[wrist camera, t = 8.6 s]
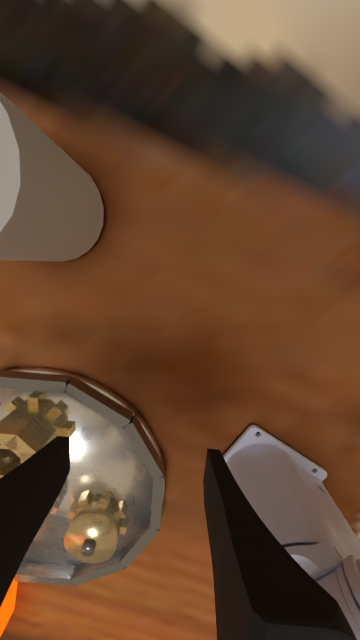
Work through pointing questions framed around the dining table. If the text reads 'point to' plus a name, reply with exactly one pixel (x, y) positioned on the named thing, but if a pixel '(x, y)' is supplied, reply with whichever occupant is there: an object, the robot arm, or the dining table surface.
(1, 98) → the can
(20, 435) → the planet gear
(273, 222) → the dining table surface
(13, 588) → the orange juice
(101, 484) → the carrier
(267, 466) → the robot arm
